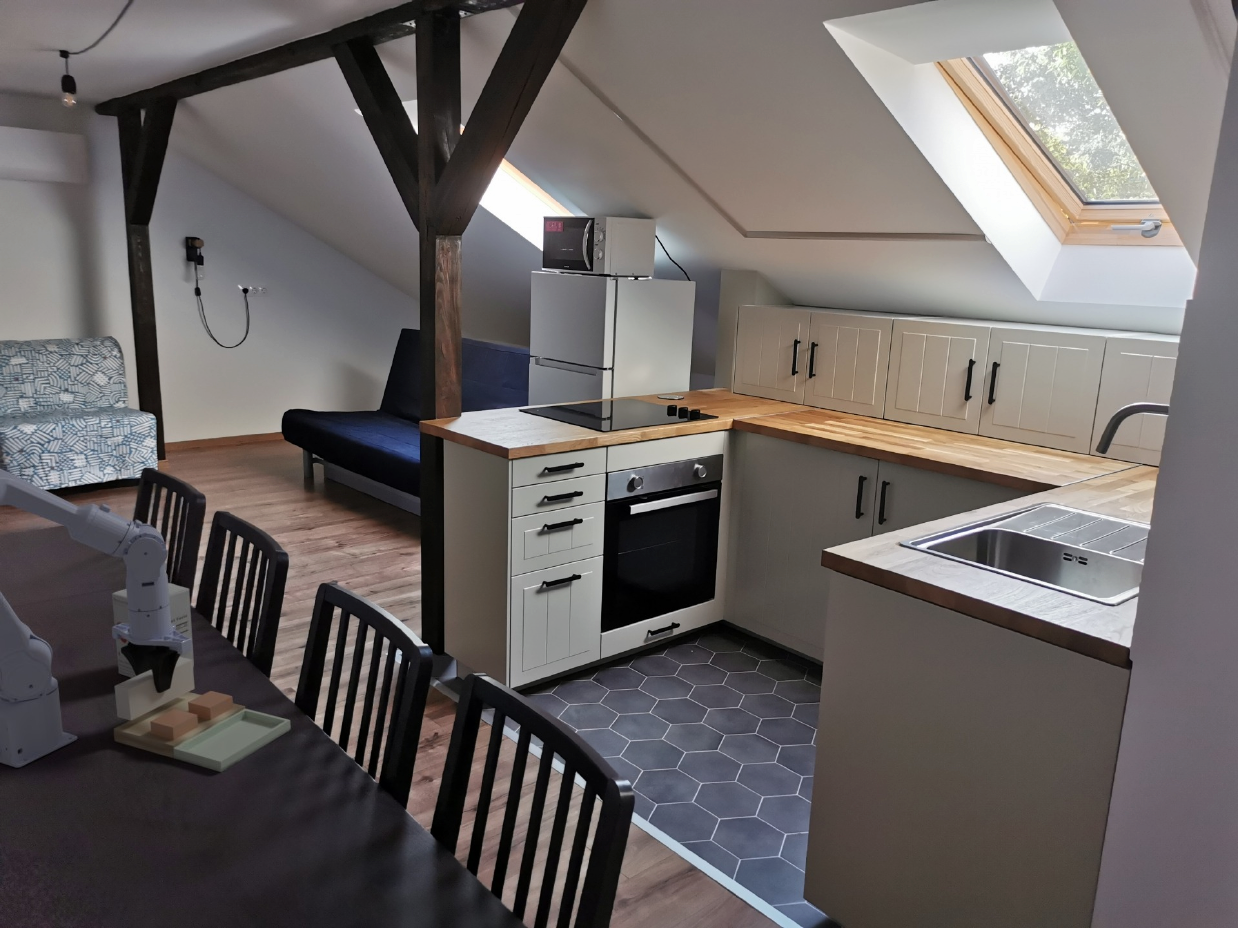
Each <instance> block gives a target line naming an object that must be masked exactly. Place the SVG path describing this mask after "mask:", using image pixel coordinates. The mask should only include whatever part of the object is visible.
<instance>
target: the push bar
mask: <svg viewBox="0 0 1238 928" xmlns="http://www.w3.org/2000/svg"><path fill="white" fill-rule="evenodd" d="M194 676H195V675H194V667H193V661H192V660H191V659H187V658H183V657H179V659H178V661H177V663H176V666H175V669H174V673H173V677H172V682H171V687H170V689H168V690H166V691H164V692H162V693H157V691H156V688H155V685H154V679H153V673H152V670H149V671H147V672H144V673H142V674H140V675H138V676H136V677H133V678H131V677H130V679H127V680H125V681H123V682H121V683H117V684H116V685H114V694H115V705H116V706H115V707H116V713H117V714H116V716H117V718H120V719H123V720H126V721H127V720H128V721H130V720H133V719H135V718H137V717H139V716H141V715H143V714H145V713H147V712H149V711H151V710H153V709H155V708H157V707H159V706H161V705H163V704H165V703H167V702H169V701H171V700H173V699H175V698H177V697H179V696H181V695H183V694H185V693H187V692H191V691H193V690H195V688H196V687H195V679H194Z"/></svg>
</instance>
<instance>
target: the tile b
mask: <svg viewBox="0 0 1238 928" xmlns="http://www.w3.org/2000/svg"><path fill="white" fill-rule="evenodd" d="M200 695H201V696H199V697H197V698H195V699H193V700H191V701H189V702H188V709H189V713H192V714H196V715H197V716H198V717H201V718H205V719H209V720H212V719H214V718H216V717H217V716H219V715H221V714H223V713H225V712H227V711H228V710H230V709H232V708H233V703H234V701H233V695H229V694H225V693H221V692H217V691H215V690H214V691H213V690H210V691H208V692H205V693H204V694H200Z"/></svg>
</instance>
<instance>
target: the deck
mask: <svg viewBox="0 0 1238 928" xmlns="http://www.w3.org/2000/svg"><path fill="white" fill-rule="evenodd" d="M201 695H202V694H198V693H194V692H191V691H189V692H187V693H185V694H183V695H181V696H179V697H177V698H175V699H173V700H171V701H169V702H167V703H165V704H163V705H161V706H159V707H157V708H155V709H153V710H151V711H149V712H147V713H145V714H143V715H141V716H139V717H137V718H135V719H133V720H128V721H127V722H125V723H122V724H120V725H118V726H116V727H114V728H113V737H114V742H117V743H120V744H122V745H126V746H131V747H134V748H137V749H141V750H145V751H148V752H150V753H154V754H157V755H161V756H165V757H169V758H172V759H175V758H174V749H173V748H175V747H177V746H179V745H180V744H182V743H184V742H186V741H188V740H189V739H191V738H193V737H195V736H197V735H198V734H200V733H202V732H204V731H206V730H208V729H209V728H211V727H213V726H215V725H217V724H218V723H220V722H222V721H224V720H226V719H227V718H229V717H231V716H233V715H235V714H236V713H238V712H240V711H242V710H244V709H246V705H241V704H237V703H234V702H233V708H232V709H230V710H228V711H227V712H225V713H223V714H221V715H219V716H217V717H216V718H214V719H212V720H209V719H205V718H201V717H198V716H197V719H198V727H197V728H195V729H193V730H192V731H190V732H188V733H186V734H184V735H182V736H181V737H179V738H177V739H175V740H172V739H168V738H164V737H161V736H157V735H154V734H151V724H150V721H152V720H154V719H156V718H158V717H160V716H162V715H164V714H166V713H168V712H170V711H172V710H174V709H177V710H181V711H185V712H189V709H188V702H189V701H191V700H193V699H195V698H197V697H199V696H201Z"/></svg>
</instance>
